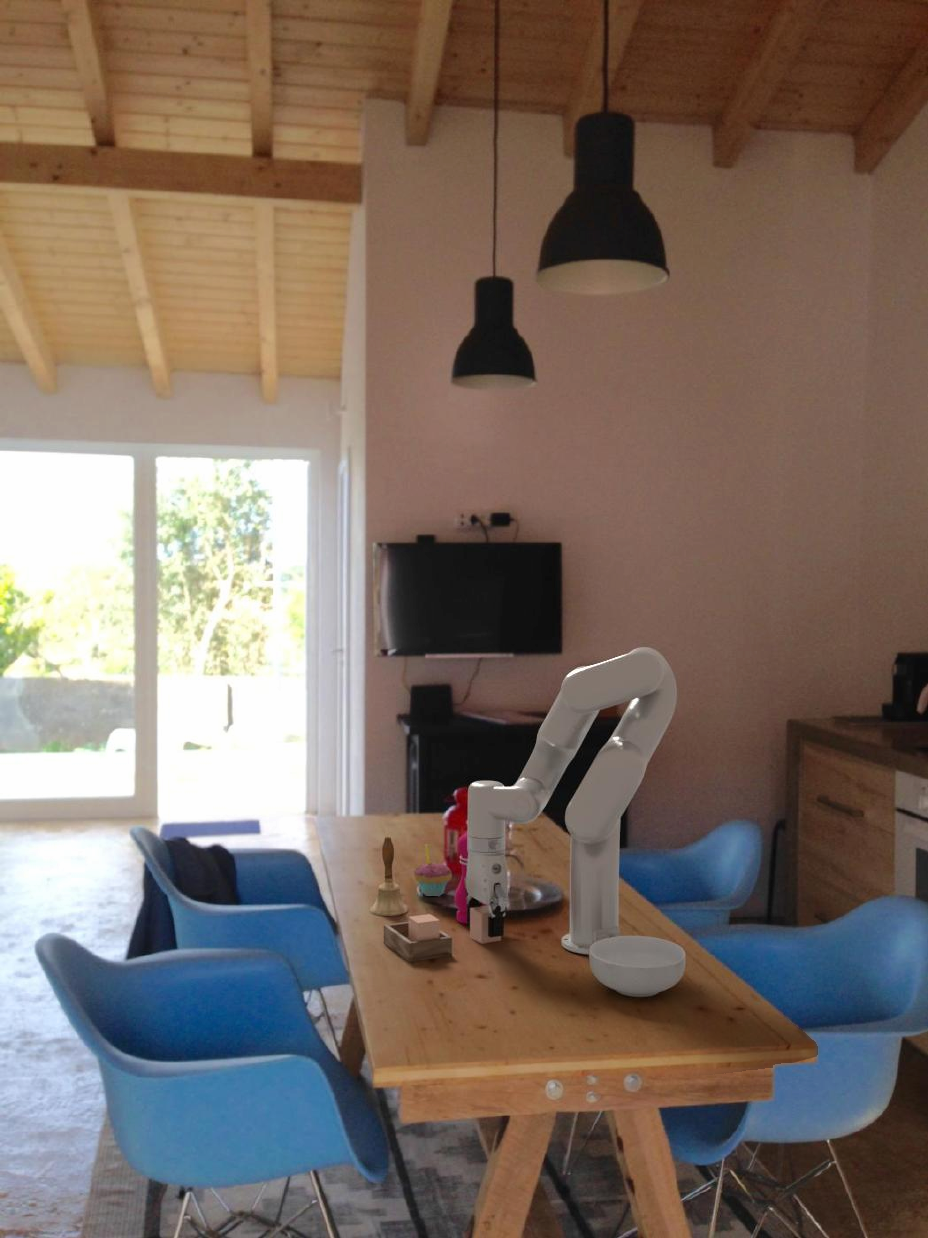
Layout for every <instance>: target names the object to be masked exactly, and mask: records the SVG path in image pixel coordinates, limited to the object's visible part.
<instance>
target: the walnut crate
mask: <svg viewBox="0 0 928 1238" xmlns="http://www.w3.org/2000/svg"><path fill="white" fill-rule="evenodd" d="M383 944H384V945H386V946H387V947H389V948H390V949H391V950H393V951H394V953H396V954H398V955H399V956H401V957H402V958H403V959H404V960H406V961H407V962H409V963H412V962H413V963H414V962H419V961H425V960H431V959H438V958H445V957H452V956H453V937H452V936H450V935H449V934H447V933H446V932H444V931H443V930H441V929H440V928H439V938H435V939H428V940H421V941H414V942H411V941H410V940H409V921H405V922H398V923H389V924H383Z"/></svg>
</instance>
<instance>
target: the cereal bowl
mask: <svg viewBox="0 0 928 1238" xmlns="http://www.w3.org/2000/svg"><path fill="white" fill-rule="evenodd" d="M686 957H687V955H686V951H685V949H684V948H683V947H682V946H681V945H679V944H676V943H675V942H673V941H671V940H668V939H664V938H658V937H654V936H648V935H647V936H646V935H620V936H617V937H610V938H606V939H602V940H599V941H597V942H595V943H593V944H592V945H591V946H590V949H589V955H588V959H589V960H588V961H589V966H590V969H591V973H593V976H594V977H595V978H596V979H597V981H599V982H600V983H601V984H602V985H604V986H606V987H608V988H610V989H611V990H615V991H616V992H617V993H619V994H620V995H624V996H627V997H628V996H629V997H635V998H645V997H652V996H655V995H657V994H659V993H660V992H664V991H666V990H668V989H671V988H672V987H674V986H675V985H676V984H678V982H680V980H681V979H682V978H683V975H684V973H685V970H686V961H687V960H686Z"/></svg>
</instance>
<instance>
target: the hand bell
mask: <svg viewBox="0 0 928 1238" xmlns="http://www.w3.org/2000/svg"><path fill="white" fill-rule="evenodd" d="M381 855H382V861H383V865H384V882H383V883H382V884H380V885H379V886H378V890H377V897H376V899H375V902H374V904H373V905H372V906H371V907H370V908H369V909H370V910H369V912H370V914H372V915H375V916H380V917H381V916H382V917H395V916H401V915H404V914H406V913H408V912H409V907H408V906H407V905H406V904H405V903H404V901H403V898H402V897H401V891H400V886H399V885H398V884H397V883H395V882H394V879H393V869H392V868H393V864H394V857H395V847H394V844H393V842H392V838H391V836H385V837H384V841H383V844H382V848H381Z"/></svg>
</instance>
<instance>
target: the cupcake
mask: <svg viewBox="0 0 928 1238" xmlns="http://www.w3.org/2000/svg"><path fill="white" fill-rule="evenodd" d="M424 852H425V856H426V862H425V863H422V864H421V865H419V866H417V868H416V869H415V870H414V871H413V875H414V879H415V880H416V882H417V883H418V884H419V888H420V890H421V891H420V892H421V893H422V892H423V893H426V894H432V895H442V894H443V895H444V893H445V889H446V887H447V883H448V882H450V881H451V880H452V877H453V874H452V870H451V869H450V867H448V866H447V865H446V864H443V863H440V862H431V860H430V853H429V846H428V844H427V841H426V840H424ZM443 895H442V896H443Z"/></svg>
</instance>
